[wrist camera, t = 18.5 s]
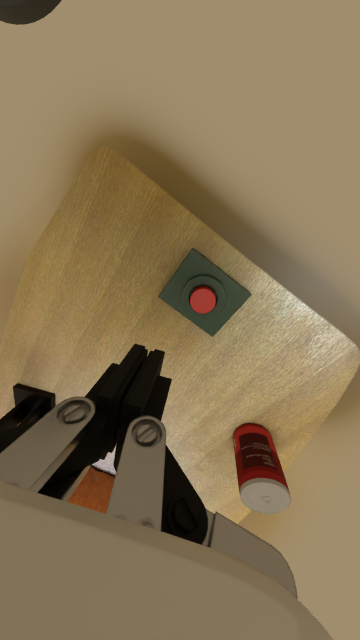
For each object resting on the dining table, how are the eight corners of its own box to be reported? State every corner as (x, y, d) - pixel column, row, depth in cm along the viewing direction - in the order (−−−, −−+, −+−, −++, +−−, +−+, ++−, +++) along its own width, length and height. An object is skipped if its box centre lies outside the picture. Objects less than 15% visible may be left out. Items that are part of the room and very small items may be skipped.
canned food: (250, 455, 44) (262, 520, 34) (224, 434, 43) (229, 494, 32) (279, 439, 41) (303, 504, 31) (253, 416, 40) (268, 475, 30)
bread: (130, 512, 58) (104, 601, 44) (45, 475, 57) (-10, 553, 43) (147, 487, 53) (124, 578, 38) (53, 446, 52) (-6, 524, 38)
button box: (160, 294, 33) (155, 299, 30) (193, 247, 30) (191, 248, 27) (212, 332, 35) (212, 341, 31) (249, 292, 31) (254, 297, 28)
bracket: (17, 383, 45) (-58, 438, 33) (55, 393, 45) (-6, 453, 32) (21, 418, 50) (-44, 479, 37) (55, 428, 49) (2, 493, 36)
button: (186, 300, 30) (184, 303, 28) (201, 280, 29) (200, 283, 27) (205, 314, 30) (204, 318, 29) (220, 296, 29) (221, 299, 27)
